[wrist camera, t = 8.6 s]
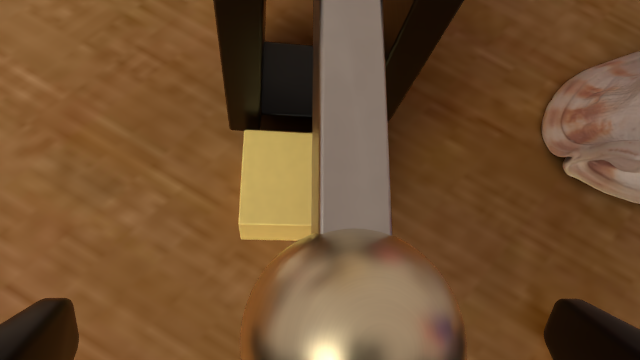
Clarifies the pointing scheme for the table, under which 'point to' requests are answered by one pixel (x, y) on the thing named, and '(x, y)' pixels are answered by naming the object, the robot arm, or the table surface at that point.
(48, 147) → the table surface
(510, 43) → the table surface
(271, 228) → the butter
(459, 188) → the table surface
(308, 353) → the ball-tipped lever
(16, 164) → the table surface
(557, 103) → the seashell
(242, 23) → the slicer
